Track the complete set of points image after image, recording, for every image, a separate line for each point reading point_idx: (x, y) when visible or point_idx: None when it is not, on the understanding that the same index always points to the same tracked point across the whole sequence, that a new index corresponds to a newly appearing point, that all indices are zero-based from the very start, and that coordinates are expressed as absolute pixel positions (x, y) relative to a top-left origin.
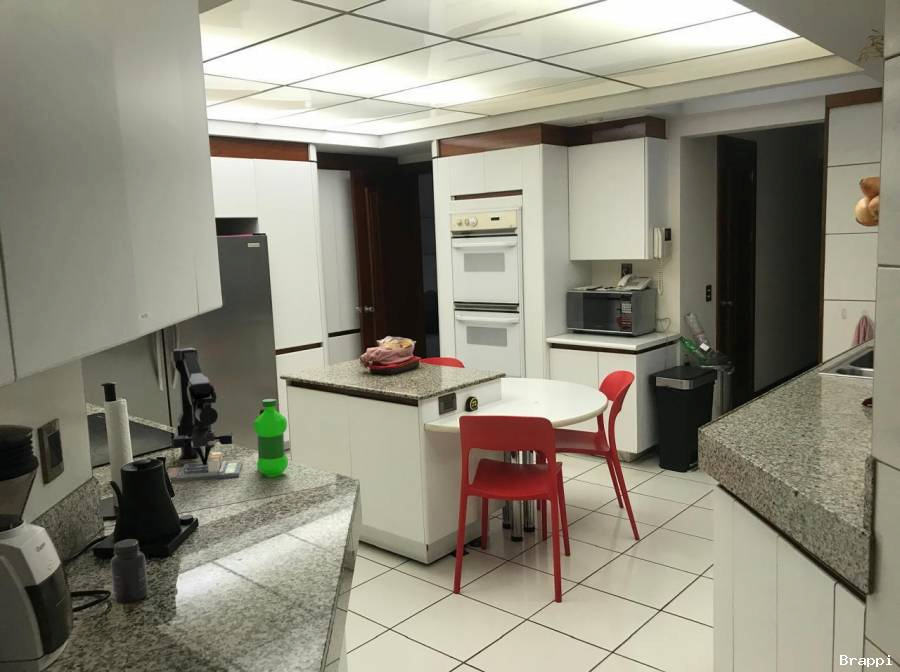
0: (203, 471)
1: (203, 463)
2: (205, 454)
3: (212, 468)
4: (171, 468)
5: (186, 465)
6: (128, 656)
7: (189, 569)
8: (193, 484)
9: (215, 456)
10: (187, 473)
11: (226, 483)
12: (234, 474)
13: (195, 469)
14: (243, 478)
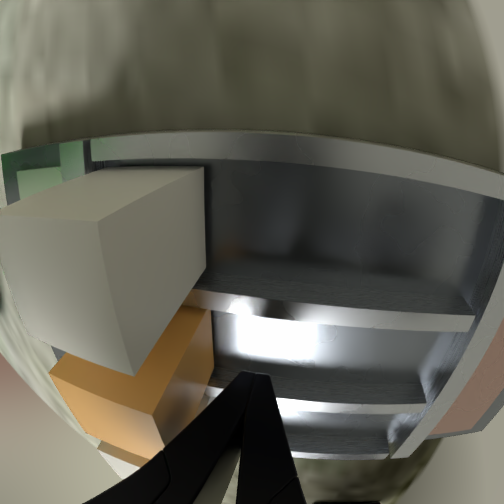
0: (279, 287)
1: (266, 390)
2: (187, 487)
3: (121, 180)
4: (475, 426)
5: (409, 438)
6: None
7: None
8: (368, 12)
9: (103, 424)
10: (443, 298)
11: (75, 3)
12: (21, 150)
13: (355, 385)
14: (3, 113)
